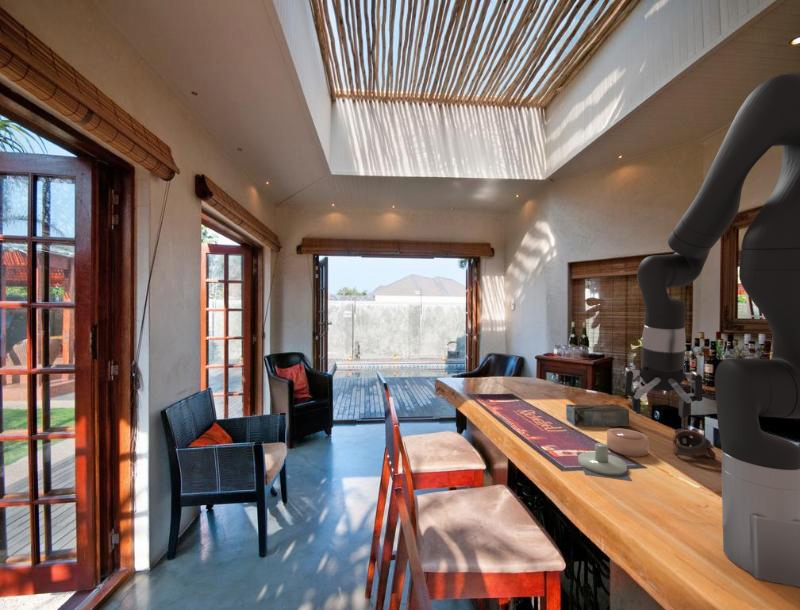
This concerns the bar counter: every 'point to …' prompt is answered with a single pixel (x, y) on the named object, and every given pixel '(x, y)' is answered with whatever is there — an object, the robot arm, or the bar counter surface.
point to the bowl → (627, 442)
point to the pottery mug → (697, 443)
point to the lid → (602, 461)
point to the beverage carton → (597, 415)
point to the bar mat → (621, 477)
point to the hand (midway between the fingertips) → (659, 414)
